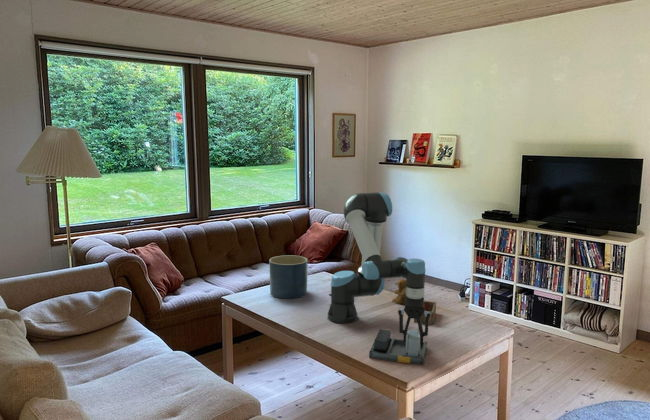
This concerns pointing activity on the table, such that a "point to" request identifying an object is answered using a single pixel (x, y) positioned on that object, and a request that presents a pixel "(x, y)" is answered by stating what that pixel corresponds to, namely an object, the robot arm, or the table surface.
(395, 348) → the grey flat rectangular tray
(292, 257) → the planter
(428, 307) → the open wooden box
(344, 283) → the robot arm
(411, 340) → the pale blue upright block
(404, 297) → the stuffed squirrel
